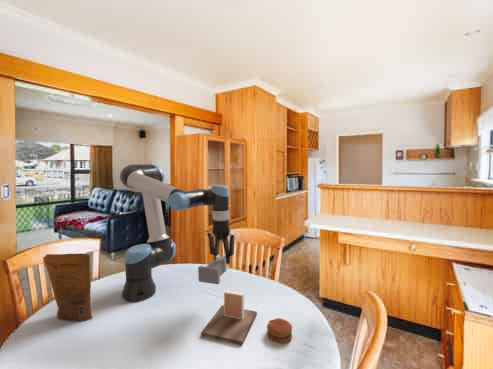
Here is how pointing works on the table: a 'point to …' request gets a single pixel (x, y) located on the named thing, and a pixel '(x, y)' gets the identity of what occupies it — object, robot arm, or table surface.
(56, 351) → the table surface
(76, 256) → the pancake mix bag
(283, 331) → the burger
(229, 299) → the tile
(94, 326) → the table surface
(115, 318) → the table surface
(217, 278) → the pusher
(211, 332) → the walnut board
